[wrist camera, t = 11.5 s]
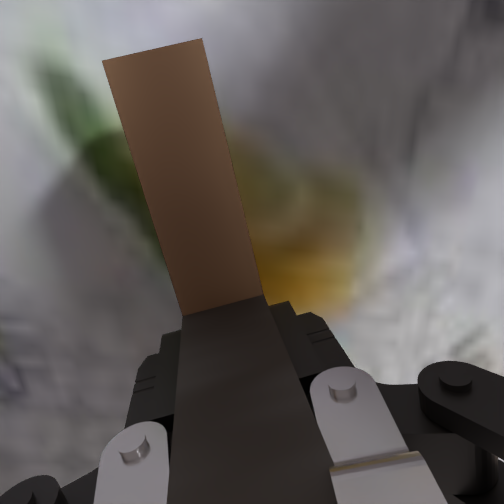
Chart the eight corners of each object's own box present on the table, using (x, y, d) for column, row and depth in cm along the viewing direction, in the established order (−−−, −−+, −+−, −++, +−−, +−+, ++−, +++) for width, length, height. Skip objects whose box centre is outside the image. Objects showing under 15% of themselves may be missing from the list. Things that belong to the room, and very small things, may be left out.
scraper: (201, 61, 12) (212, -218, 3) (298, 457, 17) (426, 867, 7) (125, 79, 12) (-162, -149, 2) (244, 472, 17) (305, 911, 7)
